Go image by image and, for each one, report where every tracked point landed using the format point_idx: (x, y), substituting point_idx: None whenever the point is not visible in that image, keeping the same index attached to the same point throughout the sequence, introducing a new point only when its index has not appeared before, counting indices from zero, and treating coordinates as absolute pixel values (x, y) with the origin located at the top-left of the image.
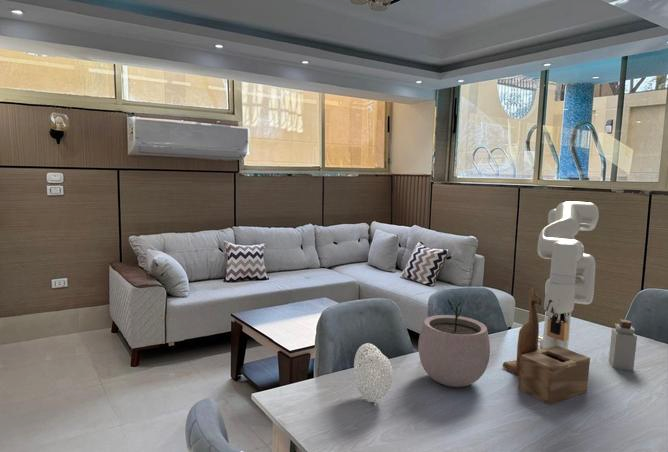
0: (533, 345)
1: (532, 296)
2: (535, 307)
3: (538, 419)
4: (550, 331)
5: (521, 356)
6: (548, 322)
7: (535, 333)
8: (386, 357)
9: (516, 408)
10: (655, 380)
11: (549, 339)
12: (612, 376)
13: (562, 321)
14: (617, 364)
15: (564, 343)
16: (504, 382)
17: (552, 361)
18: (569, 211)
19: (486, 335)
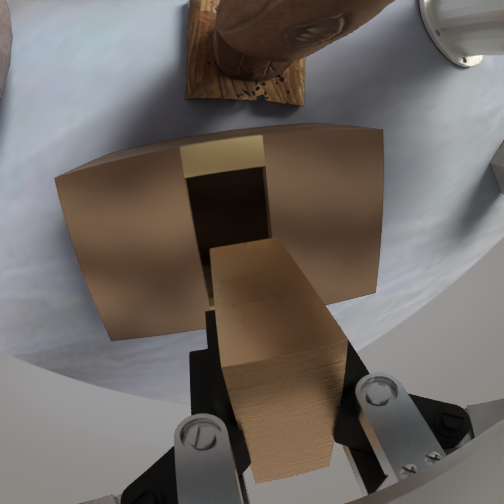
0: (268, 54)
1: None
2: None
3: (65, 308)
4: (205, 316)
5: (58, 183)
6: (220, 335)
7: (299, 38)
8: None
9: (40, 255)
10: (488, 241)
11: (463, 9)
12: (455, 193)
13: (290, 458)
14: (499, 171)
15: (483, 50)
16: (100, 100)
17: (165, 287)
18: None
19: None
